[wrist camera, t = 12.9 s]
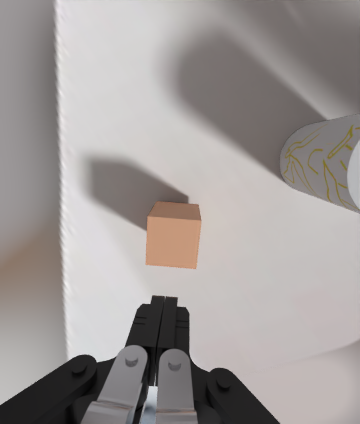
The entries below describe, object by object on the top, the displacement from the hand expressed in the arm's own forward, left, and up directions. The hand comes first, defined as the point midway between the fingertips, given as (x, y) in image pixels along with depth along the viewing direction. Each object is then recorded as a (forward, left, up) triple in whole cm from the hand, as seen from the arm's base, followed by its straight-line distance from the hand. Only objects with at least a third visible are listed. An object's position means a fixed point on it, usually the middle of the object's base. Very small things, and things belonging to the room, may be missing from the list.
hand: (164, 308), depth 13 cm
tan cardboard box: (0, 0, -16) cm, 16 cm away
